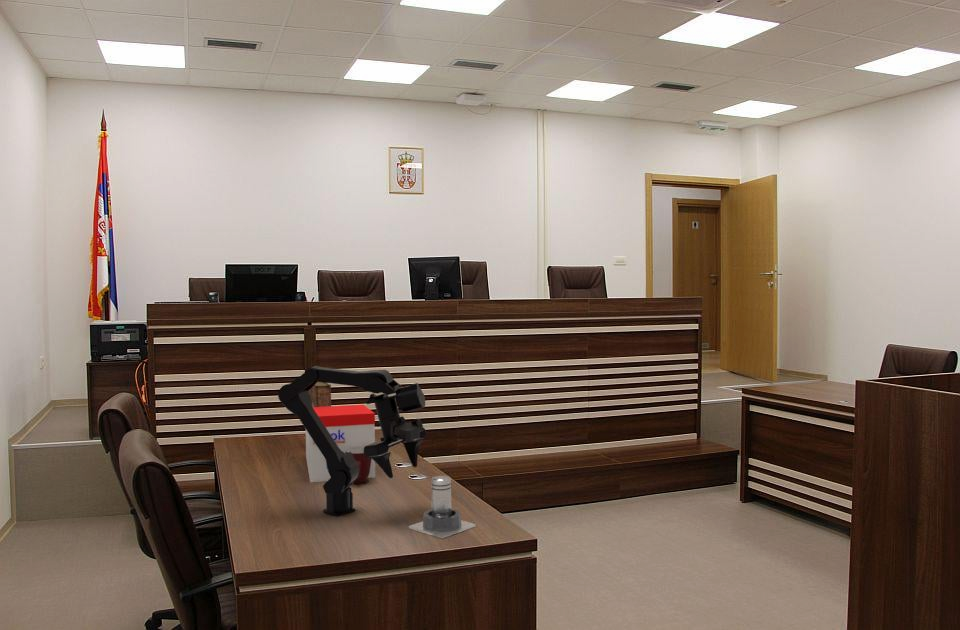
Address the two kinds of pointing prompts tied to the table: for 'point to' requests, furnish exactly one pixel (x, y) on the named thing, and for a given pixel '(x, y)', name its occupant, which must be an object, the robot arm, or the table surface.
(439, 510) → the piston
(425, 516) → the ring sleeve
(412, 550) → the table surface
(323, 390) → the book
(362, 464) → the mug
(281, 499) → the table surface
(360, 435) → the red-topped cereal carton
